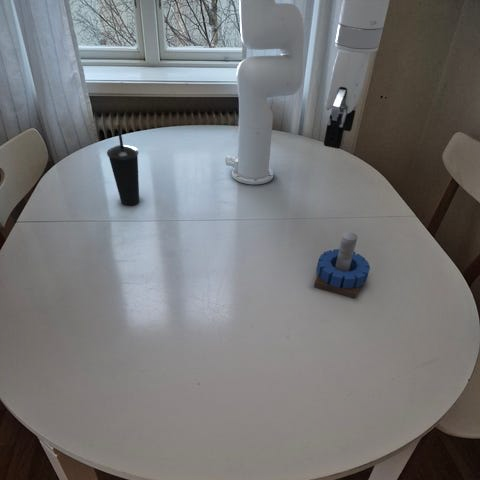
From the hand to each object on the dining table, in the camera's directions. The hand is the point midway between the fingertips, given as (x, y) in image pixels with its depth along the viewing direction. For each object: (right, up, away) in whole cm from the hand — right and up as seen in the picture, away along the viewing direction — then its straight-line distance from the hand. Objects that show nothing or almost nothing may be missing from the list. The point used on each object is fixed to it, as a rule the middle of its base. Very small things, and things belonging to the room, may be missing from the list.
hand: (337, 137), depth 86 cm
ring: (+3, -26, +8) cm, 28 cm away
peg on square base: (+2, -28, +9) cm, 29 cm away
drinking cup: (-49, -4, +31) cm, 58 cm away
